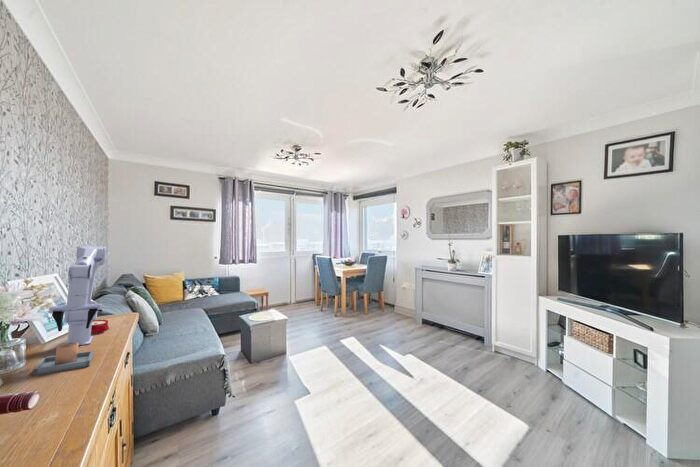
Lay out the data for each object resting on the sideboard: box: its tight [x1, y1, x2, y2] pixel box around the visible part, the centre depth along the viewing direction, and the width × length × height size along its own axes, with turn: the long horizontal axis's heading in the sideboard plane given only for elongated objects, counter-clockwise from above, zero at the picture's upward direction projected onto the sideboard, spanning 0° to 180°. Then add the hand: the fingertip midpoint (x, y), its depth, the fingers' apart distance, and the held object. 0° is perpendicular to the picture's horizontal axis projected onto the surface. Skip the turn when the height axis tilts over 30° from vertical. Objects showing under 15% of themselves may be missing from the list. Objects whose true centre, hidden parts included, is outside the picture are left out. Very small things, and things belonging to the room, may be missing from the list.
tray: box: [32, 350, 95, 376], centre depth 98 cm, size 11×14×2 cm
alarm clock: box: [91, 319, 110, 335], centre depth 131 cm, size 10×6×15 cm
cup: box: [55, 342, 80, 365], centre depth 98 cm, size 6×6×7 cm
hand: (74, 329), depth 105 cm, fingers open, 7 cm apart
